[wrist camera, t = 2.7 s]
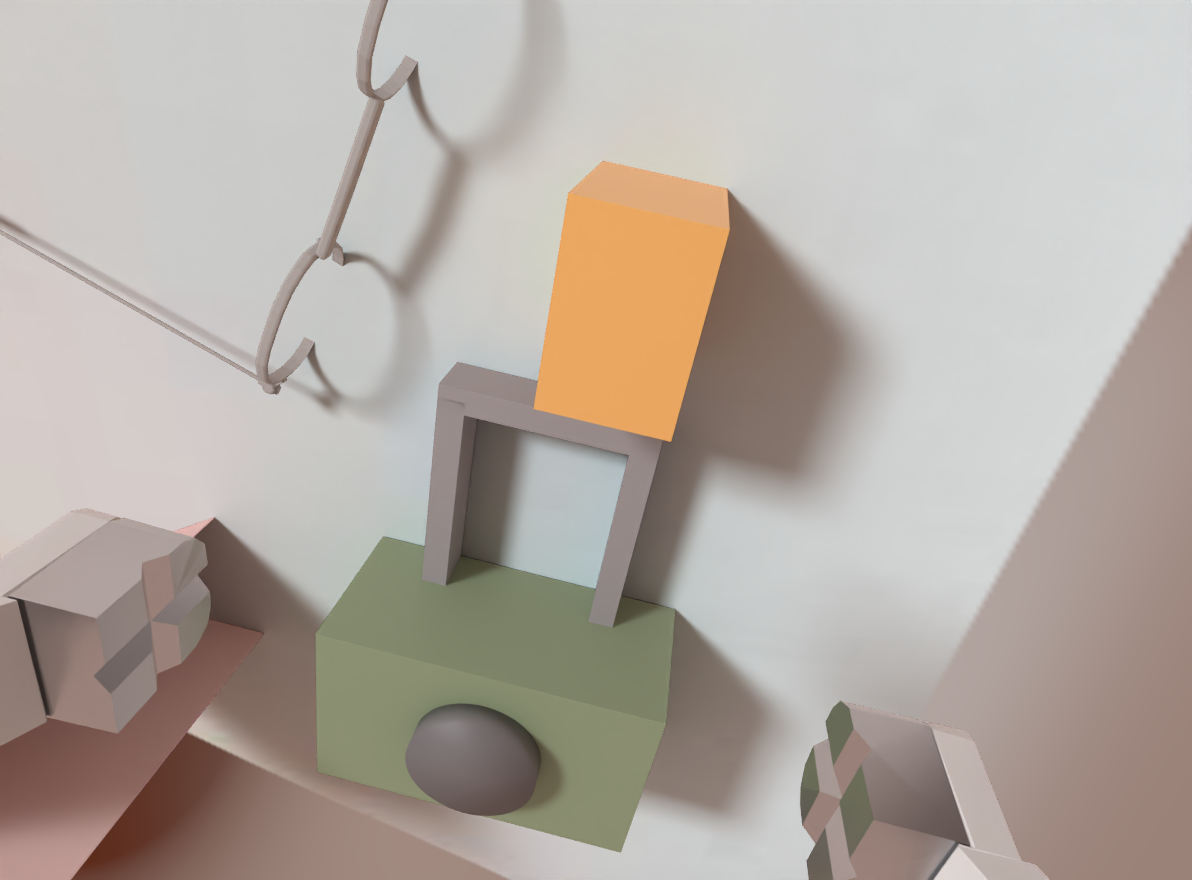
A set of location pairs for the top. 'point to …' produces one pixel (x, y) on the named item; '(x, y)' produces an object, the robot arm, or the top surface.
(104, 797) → the greeting card
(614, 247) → the chute block
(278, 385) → the eyeglasses
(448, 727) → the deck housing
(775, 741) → the top surface
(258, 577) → the top surface
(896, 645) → the top surface
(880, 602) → the top surface
